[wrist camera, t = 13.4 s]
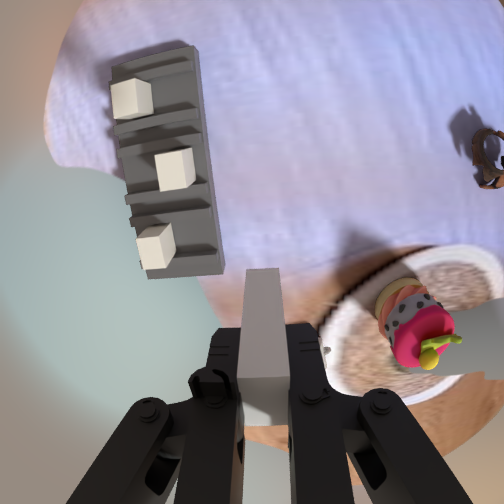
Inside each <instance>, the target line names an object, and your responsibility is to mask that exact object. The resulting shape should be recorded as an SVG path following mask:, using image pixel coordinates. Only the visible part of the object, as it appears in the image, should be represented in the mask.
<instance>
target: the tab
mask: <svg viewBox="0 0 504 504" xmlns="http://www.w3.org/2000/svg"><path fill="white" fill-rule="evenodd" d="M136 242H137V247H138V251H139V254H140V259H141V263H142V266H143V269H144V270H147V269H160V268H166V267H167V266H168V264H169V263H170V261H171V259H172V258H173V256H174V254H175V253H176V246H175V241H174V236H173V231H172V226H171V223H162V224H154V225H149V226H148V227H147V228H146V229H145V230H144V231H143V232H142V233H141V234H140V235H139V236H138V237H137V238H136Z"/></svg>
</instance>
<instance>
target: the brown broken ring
mask: <svg viewBox="0 0 504 504" xmlns="http://www.w3.org/2000/svg"><path fill="white" fill-rule="evenodd" d="M491 134H494V135H497V136H498V137H500V138H501V139H503V140H504V133H503V132H501V131H499V130H498V131H497V132H496V131H493V130H491V129H480V130H479V131H478V132H477V133H476V134H475V136H474V138H473V140H472V144H473V145H472V151H473V164H472V165H473V166H474V165H482V166H484V167H483V175H484V180H485V181H486V182H488V181H490V180H492V179H494V178H495V180H494V181H493V183H492V184H491V185H480V186H479V187H480V188H484V189H498V188H501V187H503V186H504V170H500V169H497V168H496V167H494V166H493V165H492V164H491V163H490V162H489V161H488V159H487V157H486V155H485V152H484V140H485V138H486V137H487V136H488V135H491ZM501 165H502V167H503V169H504V156H501Z"/></svg>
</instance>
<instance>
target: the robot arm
mask: <svg viewBox="0 0 504 504" xmlns="http://www.w3.org/2000/svg"><path fill="white" fill-rule="evenodd" d="M188 383H189V386H190V389H191V392H192V395H193V397H192V398H190V399H188V400H186V401H183V402H178V403H174V404H168V405H167V404H166V403H165V402H164V401H163V400H161V399H159V398H153V397H148V398H143V399H141V400H139V401H137V402H135V403H134V404H133V405H132V406H131V408H130V409H129V411H128V412H127V413H126V415H125V416H124V418H123V419H122V421H121V422H120V424H119V425H118V427H117V428H116V430H115V431H114V432H113V434H112V435H111V437H110V439H109V440H108V441H107V443H106V444H105V446H104V447H103V449H102V450H101V452H100V453H99V455H98V456H97V458H96V459H95V461H94V462H93V464H92V465H91V467H90V468H89V470H88V471H87V472H86V474H85V475H84V477H83V478H82V480H81V481H80V483H79V485H78V486H77V487H76V489H75V491H74V492H73V494H72V495H71V497H70V498H69V500H68V501H67V503H66V504H165V502H166V500H167V498H168V496H169V494H170V492H171V490H172V488H173V486H174V484H175V482H176V480H177V478H178V482H177V487H176V493H175V499H174V504H242V497H243V476H244V455H245V436H244V423H245V426H273V425H288V429H289V434H288V448H289V460H290V461H289V462H290V483H291V504H355V503H354V497H353V491H352V484H351V478H350V472H349V466H348V460H347V455H346V452H347V454H348V456H349V458H350V460H351V462H352V464H353V466H354V468H355V470H356V472H357V473H358V475H359V477H360V479H361V481H362V483H363V485H364V487H365V489H366V491H367V493H368V495H369V497H370V499H371V501H372V503H373V504H473V503H472V501H471V500H470V498H469V496H468V495H467V493H466V492H465V490H464V489H463V487H462V486H461V484H460V483H459V481H458V480H457V478H456V477H455V475H454V474H453V472H452V471H451V469H450V468H449V467H448V465H447V463H446V462H445V461H444V459H443V458H442V456H441V455H440V453H439V452H438V450H437V449H436V447H435V446H434V445H433V443H432V442H431V440H430V439H429V437H428V436H427V435H426V433H425V432H424V430H423V429H422V427H421V426H420V425H419V423H418V422H417V420H416V419H415V418H414V416H413V415H412V413H411V412H410V411H409V409H408V408H407V406H406V405H405V404H404V402H403V401H402V400H401V398H400V397H399V396H398V395H397V394H396V393H395V392H393V391H391V390H389V389H383V388H377V389H372V390H370V391H368V392H367V393H365V394H364V396H363V397H359V396H351V395H346V394H342V393H340V392H338V391H336V390H335V389H333V388H332V387H331V385H330V384H329V382H328V380H327V376H326V371H325V366H324V362H323V357H322V353H321V348H320V344H319V340H318V335H317V331H316V330H315V329H314V328H313V327H312V326H311V324H310V323H304V324H289V325H285V319H284V310H283V301H282V292H281V283H280V274H279V268H266V269H247V270H246V280H245V291H244V302H243V313H242V324H241V328H218V330H217V331H216V332H215V333H214V335H213V336H212V338H211V343H210V349H209V353H208V358H207V363H206V367H203V368H201V369H198V370H197V371H195V372H194V373H193V374H192V375H191V377H190V378H189V380H188Z"/></svg>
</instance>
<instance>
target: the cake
mask: <svg viewBox="0 0 504 504" xmlns="http://www.w3.org/2000/svg"><path fill="white" fill-rule="evenodd" d="M375 315H376V317H377V319H378V326H379V332H380V333H381V334H382V335H383V336H384V337H385V338H386V339H387V340H389V342H390V344H391V346H390V348H391V350H392V352H393V354H394V356H395V358H396V360H397V361H398V363H400V364H401V365H403V366H405V367H418V366H421V367H422V368H423V369H426V370H430V369H432V368H434V367H435V366H436V365H437V364H438V360H439V355H440V354H441V353H442V352H443V351H444V350H445V349H446V348H447V346H448V345H449V343H450V342H454V343H461V341H462V338H461V337H460V336H457V335H456V334H454V321H453V319H452V317H451V316H450V314H449V313H448V312H447V311H446V310H444V309H443V306H442V304H441V303H439V302H437V301H436V297H434V296H431V295H429V292H428V291H427V288H426V286H423V285H422V284H421V283H420V282H419V281H418V280H416V279H414V278H406V277H404V278H401V279H398V280H395V281H394V282H392V283H390V284H389V285H388V286H387V287H386V288H385V289H384V290H383V291H382V292H381V293H380V295H379V297H378V298H377V301H376V304H375Z"/></svg>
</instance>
